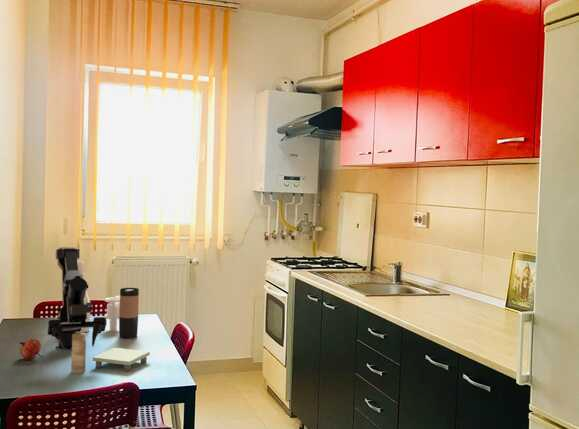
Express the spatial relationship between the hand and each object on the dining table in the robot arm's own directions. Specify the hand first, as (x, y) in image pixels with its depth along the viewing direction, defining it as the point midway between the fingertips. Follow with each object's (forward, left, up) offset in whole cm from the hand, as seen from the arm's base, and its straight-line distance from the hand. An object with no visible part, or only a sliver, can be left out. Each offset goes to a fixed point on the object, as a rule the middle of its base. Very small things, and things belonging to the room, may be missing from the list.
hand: (78, 347), depth 201 cm
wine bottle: (-49, -34, -8) cm, 60 cm away
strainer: (-57, -22, -8) cm, 61 cm away
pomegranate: (-7, -24, -8) cm, 26 cm away
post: (0, 0, -8) cm, 8 cm away
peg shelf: (-12, +9, -8) cm, 17 cm away
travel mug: (-49, -10, -8) cm, 50 cm away
